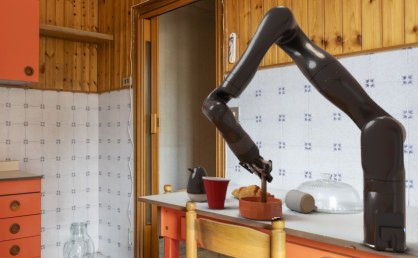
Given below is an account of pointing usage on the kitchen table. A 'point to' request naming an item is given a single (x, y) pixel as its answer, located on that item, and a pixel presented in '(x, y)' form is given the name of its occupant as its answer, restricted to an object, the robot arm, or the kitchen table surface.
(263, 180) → the wooden peg stand
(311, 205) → the ceramic mug
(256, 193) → the croissant
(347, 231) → the kitchen table surface
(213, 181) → the plastic cup
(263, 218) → the bowl
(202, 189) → the pump dispenser
